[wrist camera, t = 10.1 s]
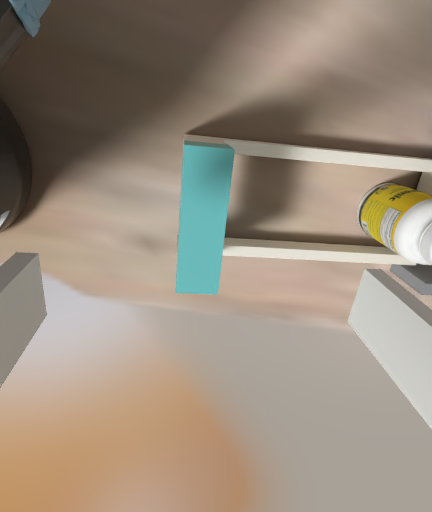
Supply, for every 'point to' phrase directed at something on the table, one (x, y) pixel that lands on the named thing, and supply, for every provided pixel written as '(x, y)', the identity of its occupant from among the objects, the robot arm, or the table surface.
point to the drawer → (215, 245)
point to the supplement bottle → (399, 220)
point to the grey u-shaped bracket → (415, 276)
